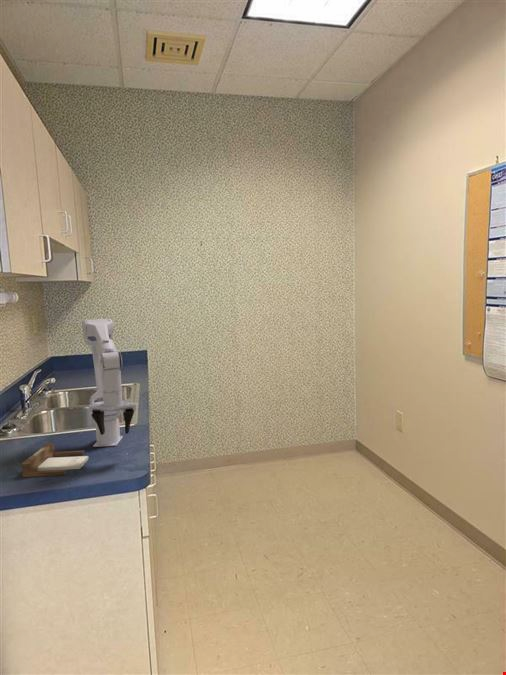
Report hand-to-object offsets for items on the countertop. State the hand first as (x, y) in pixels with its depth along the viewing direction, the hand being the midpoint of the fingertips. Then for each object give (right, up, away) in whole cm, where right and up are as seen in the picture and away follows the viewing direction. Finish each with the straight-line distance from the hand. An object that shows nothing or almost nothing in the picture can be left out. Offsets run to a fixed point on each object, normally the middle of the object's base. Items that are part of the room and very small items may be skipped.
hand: (115, 433), depth 136 cm
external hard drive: (-15, -10, -2) cm, 18 cm away
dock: (-18, -9, -2) cm, 20 cm away
